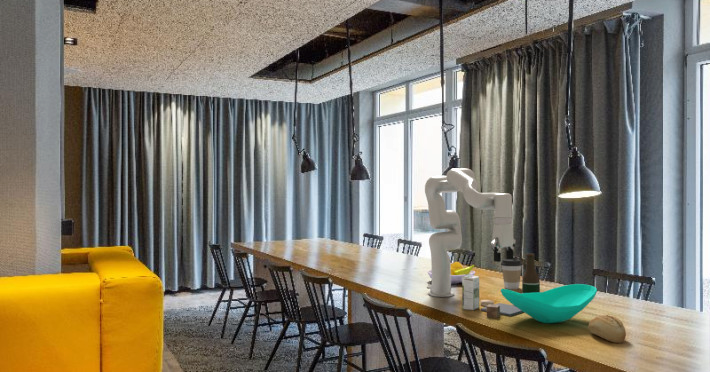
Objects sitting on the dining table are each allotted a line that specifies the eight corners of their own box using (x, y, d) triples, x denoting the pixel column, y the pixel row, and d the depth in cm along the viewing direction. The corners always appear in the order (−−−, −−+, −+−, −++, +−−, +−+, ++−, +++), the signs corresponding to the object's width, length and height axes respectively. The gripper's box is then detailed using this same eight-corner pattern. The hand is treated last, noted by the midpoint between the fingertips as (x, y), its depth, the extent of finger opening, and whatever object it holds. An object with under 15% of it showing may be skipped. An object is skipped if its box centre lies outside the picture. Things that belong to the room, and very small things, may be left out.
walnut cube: (486, 317, 235) (486, 306, 235) (489, 314, 239) (489, 304, 238) (497, 318, 232) (497, 307, 232) (499, 315, 236) (499, 305, 236)
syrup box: (468, 306, 254) (467, 274, 254) (480, 308, 250) (479, 276, 250) (462, 309, 250) (461, 276, 250) (474, 310, 246) (473, 277, 246)
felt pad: (480, 310, 246) (480, 308, 246) (499, 305, 256) (499, 303, 256) (510, 316, 234) (510, 314, 234) (529, 310, 244) (529, 308, 244)
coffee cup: (525, 289, 290) (525, 261, 290) (503, 290, 290) (503, 261, 290) (519, 285, 301) (519, 258, 301) (498, 286, 302) (498, 258, 302)
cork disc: (477, 305, 257) (477, 301, 257) (485, 303, 261) (485, 299, 261) (488, 307, 252) (488, 303, 252) (496, 305, 256) (496, 301, 256)
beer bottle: (528, 308, 247) (527, 255, 247) (518, 305, 255) (518, 252, 255) (543, 307, 249) (543, 254, 249) (533, 304, 257) (533, 252, 257)
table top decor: (521, 333, 208) (520, 298, 208) (488, 316, 235) (487, 285, 235) (615, 326, 216) (614, 292, 216) (572, 310, 243) (572, 280, 243)
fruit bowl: (418, 280, 323) (418, 261, 323) (457, 276, 335) (457, 257, 335) (446, 288, 298) (446, 267, 298) (487, 283, 309) (486, 263, 309)
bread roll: (603, 332, 209) (602, 310, 209) (634, 342, 194) (633, 319, 194) (581, 334, 206) (581, 313, 206) (611, 345, 191) (611, 322, 191)
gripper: (506, 219, 253) (507, 257, 253) (484, 222, 241) (484, 261, 242) (521, 220, 247) (522, 259, 247) (499, 223, 236) (499, 263, 236)
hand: (503, 260), depth 245 cm, fingers open, 9 cm apart
